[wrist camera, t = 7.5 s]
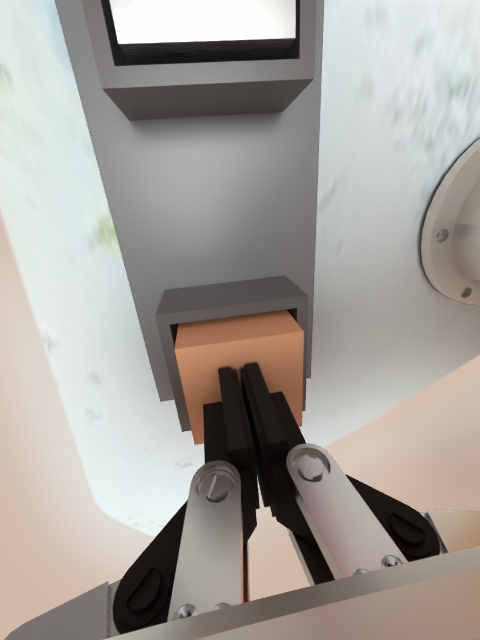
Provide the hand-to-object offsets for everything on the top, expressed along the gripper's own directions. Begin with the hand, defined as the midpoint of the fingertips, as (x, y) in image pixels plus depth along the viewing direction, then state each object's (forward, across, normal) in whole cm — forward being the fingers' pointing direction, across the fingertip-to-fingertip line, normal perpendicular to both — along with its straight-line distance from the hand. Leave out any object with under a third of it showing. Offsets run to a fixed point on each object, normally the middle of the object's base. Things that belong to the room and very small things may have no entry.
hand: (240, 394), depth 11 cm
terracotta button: (+3, 0, 0) cm, 3 cm away
